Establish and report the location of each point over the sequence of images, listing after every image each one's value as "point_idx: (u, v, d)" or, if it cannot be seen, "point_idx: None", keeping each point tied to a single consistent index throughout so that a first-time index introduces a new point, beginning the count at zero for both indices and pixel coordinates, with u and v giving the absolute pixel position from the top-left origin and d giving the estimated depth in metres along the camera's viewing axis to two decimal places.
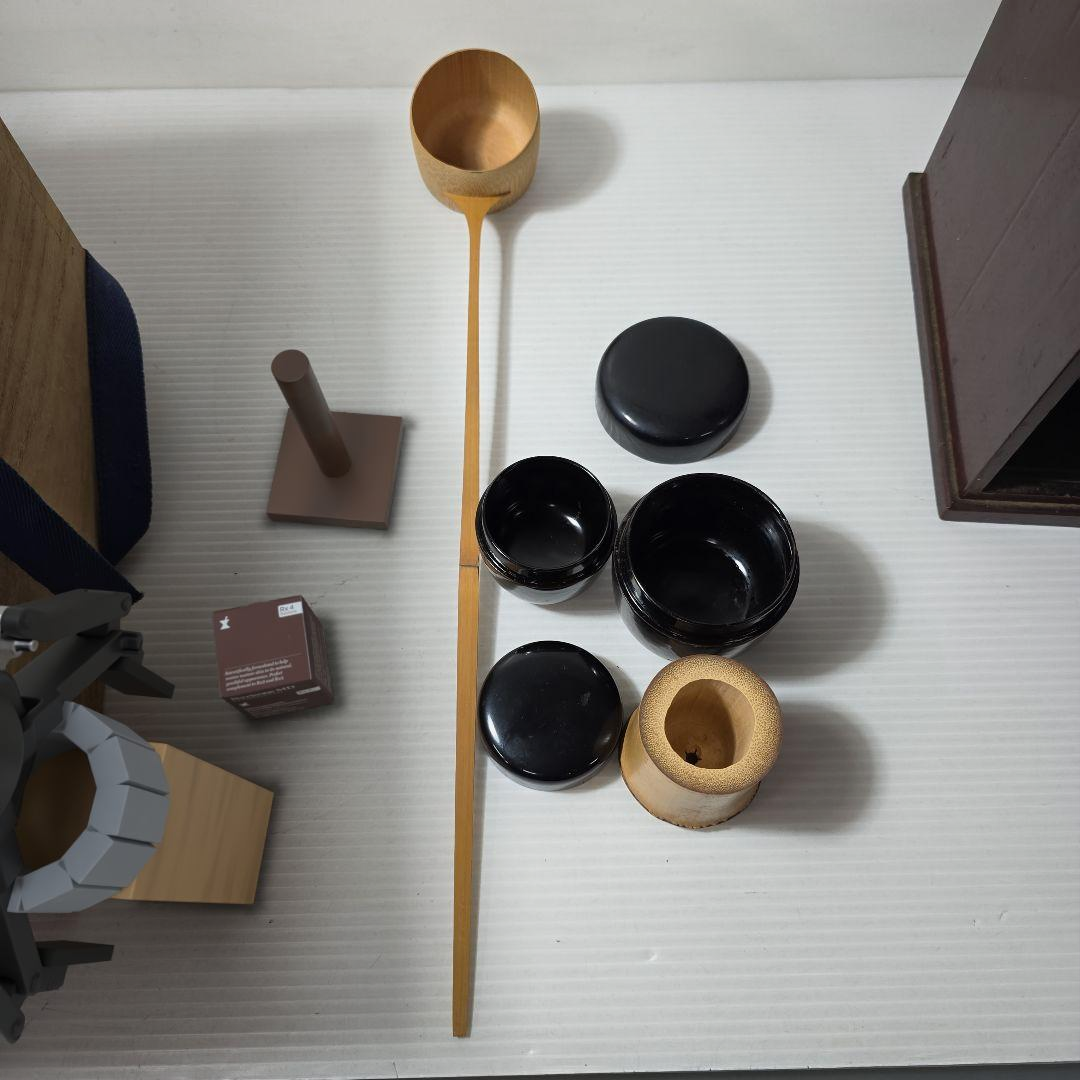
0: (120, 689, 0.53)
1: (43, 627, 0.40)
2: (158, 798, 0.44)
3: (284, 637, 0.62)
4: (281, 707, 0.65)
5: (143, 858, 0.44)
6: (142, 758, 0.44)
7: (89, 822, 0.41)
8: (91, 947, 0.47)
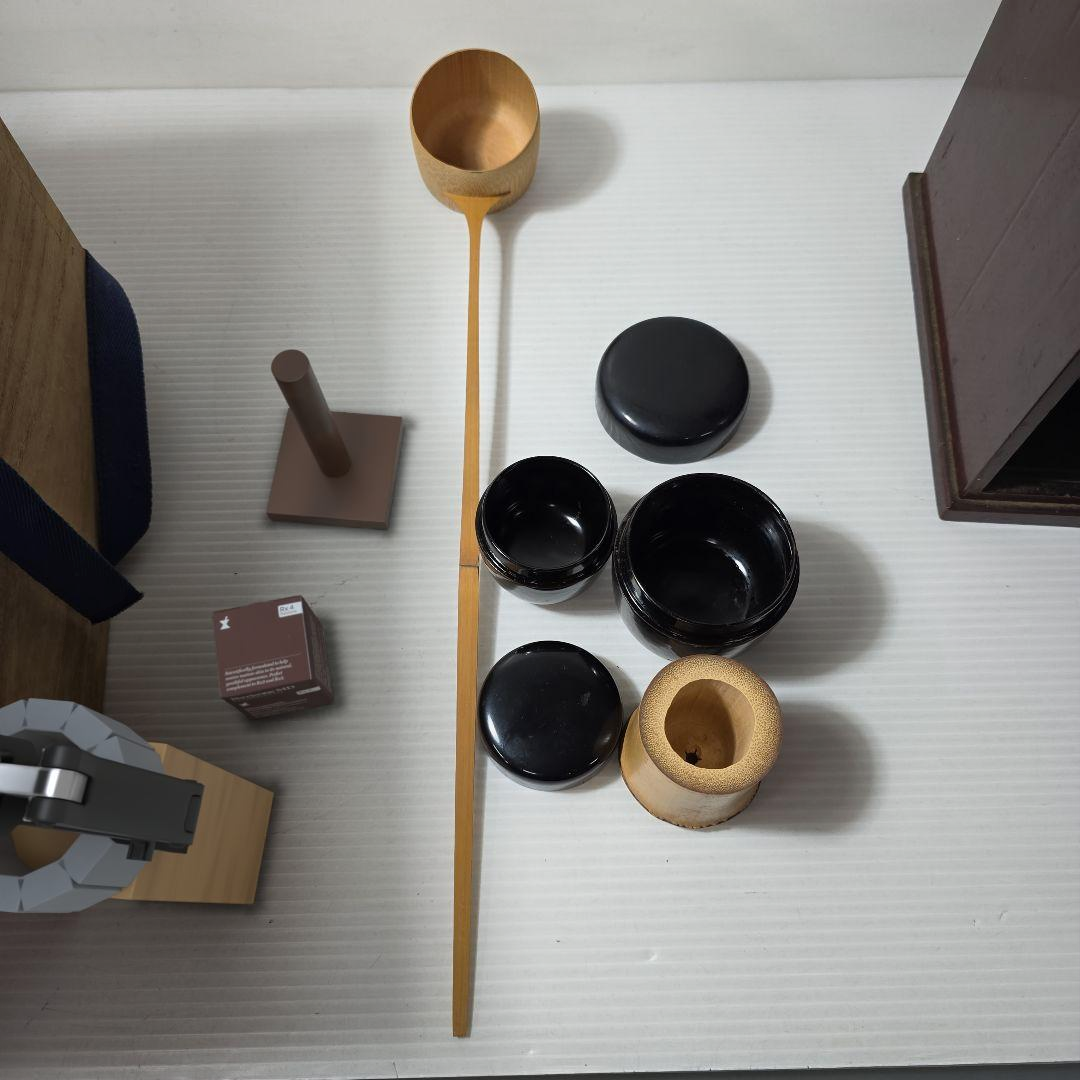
0: None
1: (58, 824, 0.32)
2: None
3: (284, 638, 0.62)
4: (281, 707, 0.65)
5: None
6: (142, 757, 0.44)
7: None
8: None
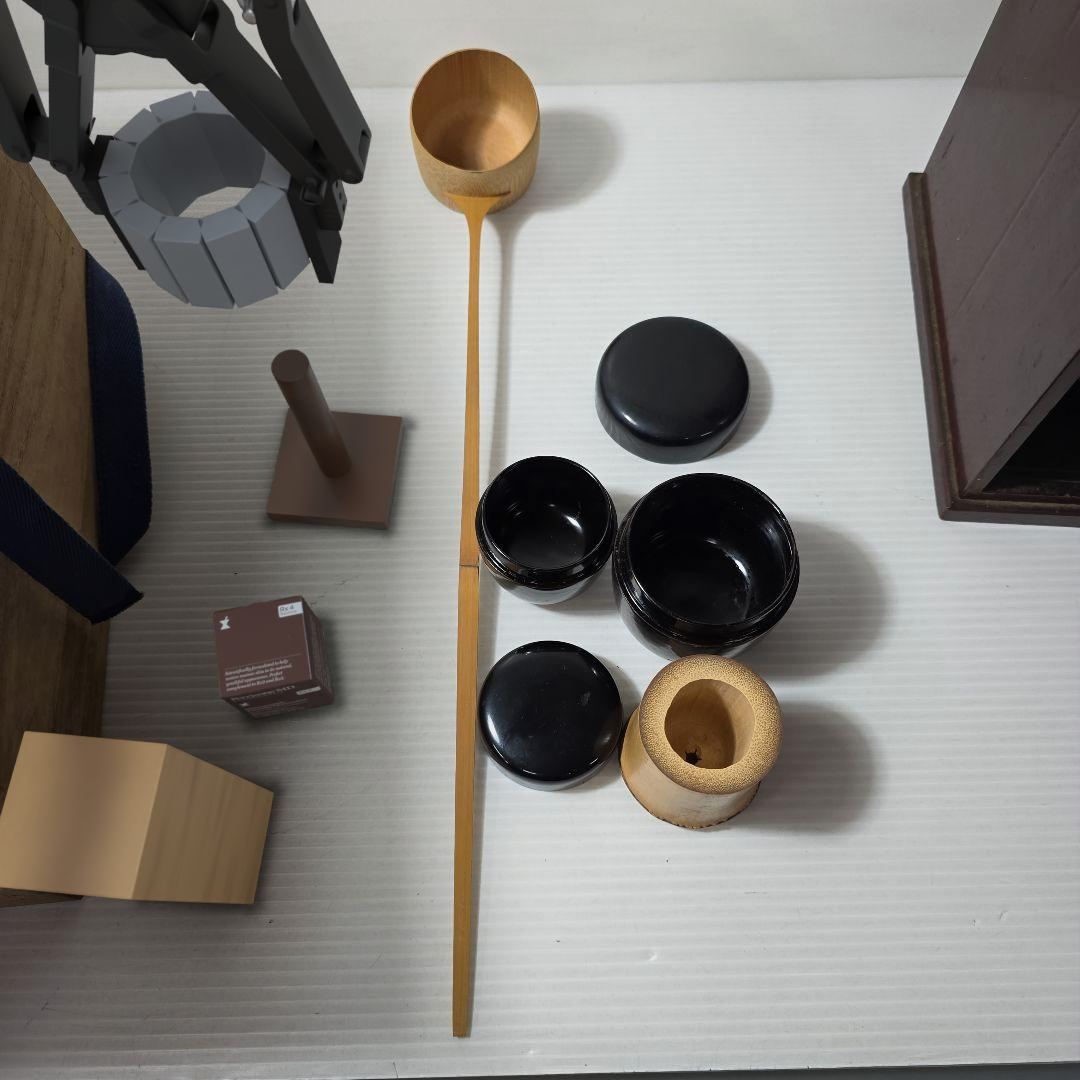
0: None
1: (272, 29, 0.35)
2: None
3: (284, 638, 0.62)
4: (281, 707, 0.65)
5: (299, 259, 0.47)
6: None
7: (261, 178, 0.43)
8: None
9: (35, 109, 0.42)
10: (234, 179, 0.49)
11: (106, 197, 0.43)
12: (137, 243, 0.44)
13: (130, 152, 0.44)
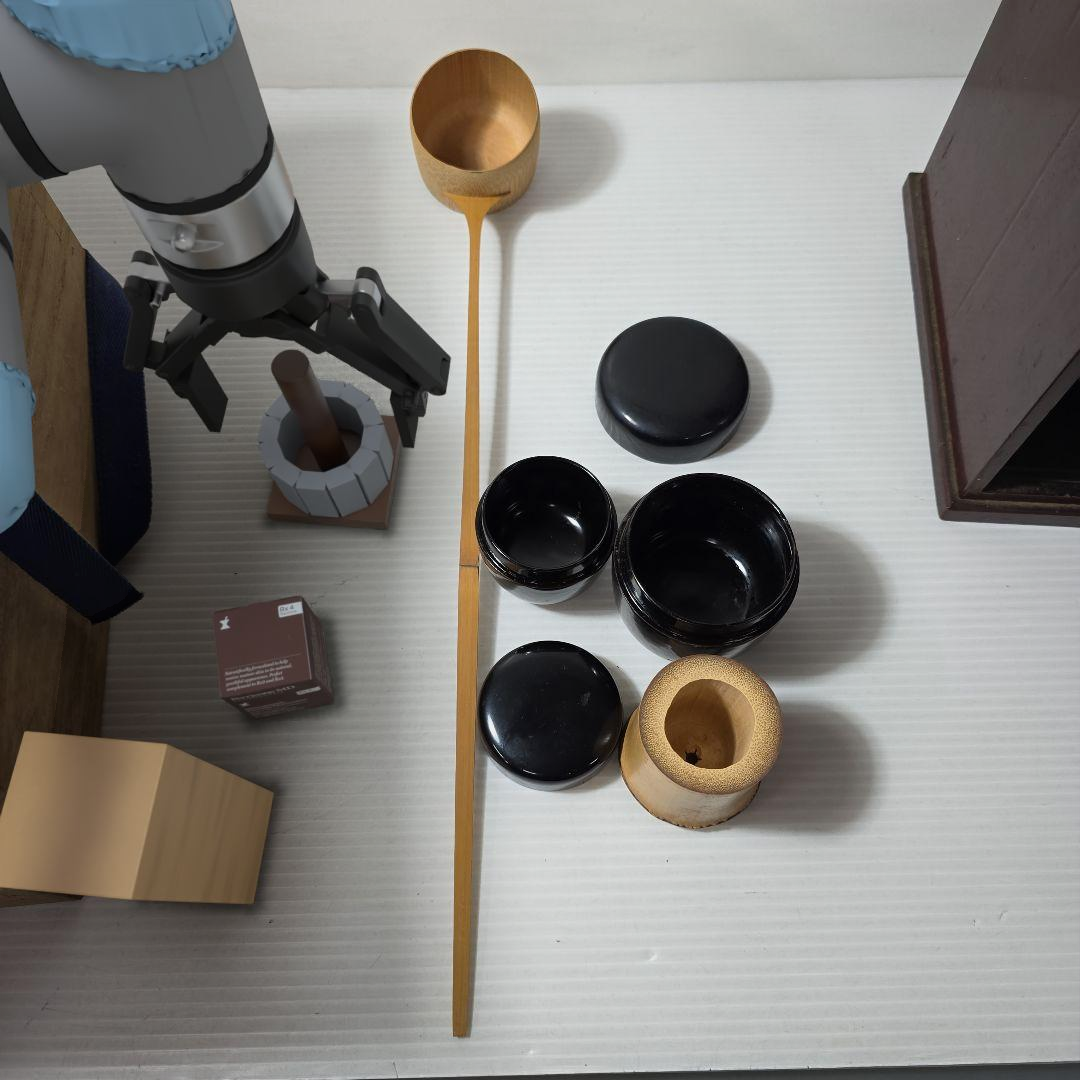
0: None
1: (367, 324, 0.53)
2: (390, 448, 0.72)
3: (284, 638, 0.62)
4: (281, 707, 0.65)
5: (382, 484, 0.71)
6: None
7: (361, 444, 0.68)
8: (207, 413, 0.64)
9: None
10: (336, 425, 0.73)
11: (263, 457, 0.67)
12: (282, 484, 0.68)
13: (277, 425, 0.68)
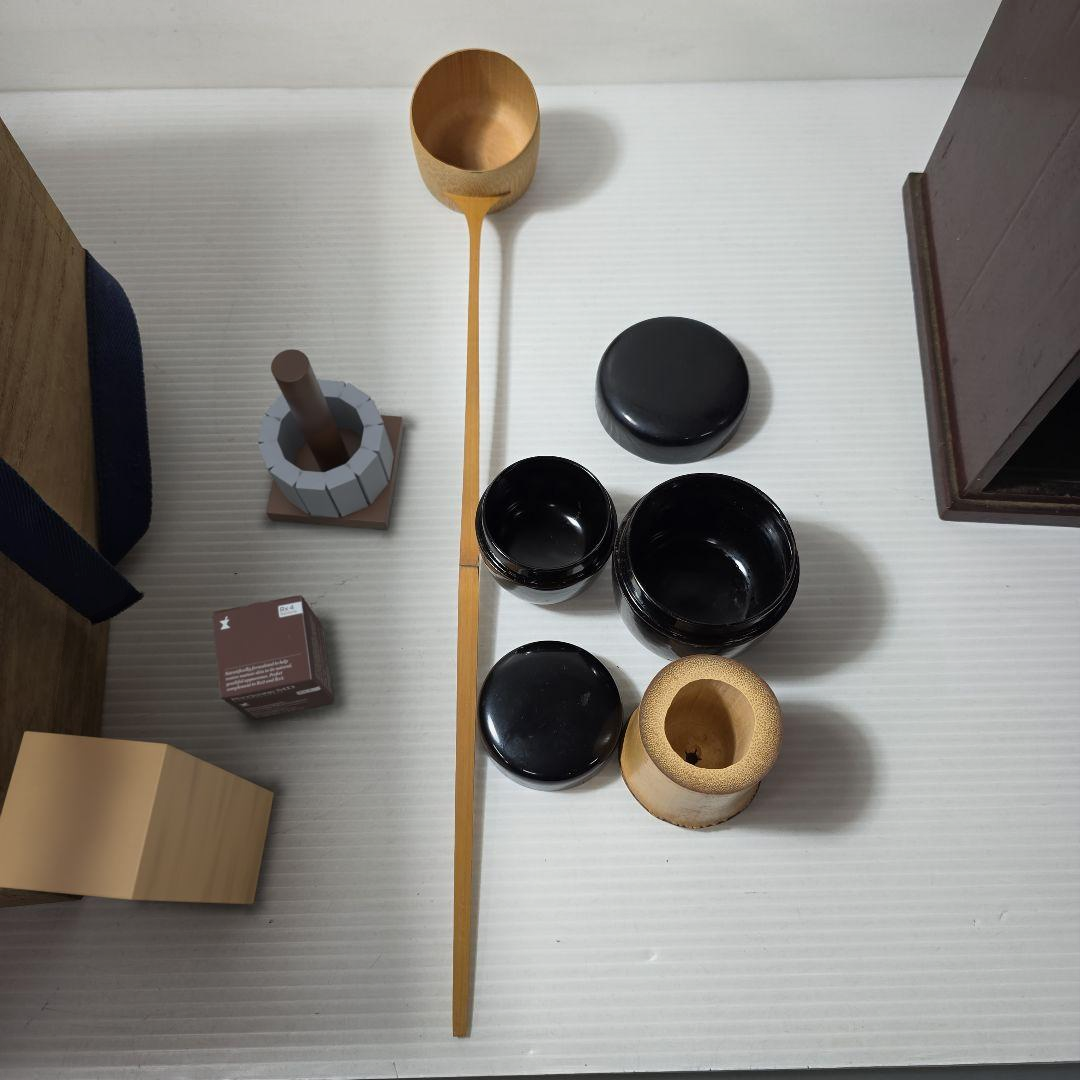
0: None
1: None
2: (390, 448, 0.72)
3: (284, 638, 0.62)
4: (281, 707, 0.65)
5: (382, 484, 0.71)
6: None
7: (361, 444, 0.68)
8: None
9: None
10: (336, 425, 0.73)
11: (263, 457, 0.67)
12: (282, 484, 0.68)
13: (277, 425, 0.68)
